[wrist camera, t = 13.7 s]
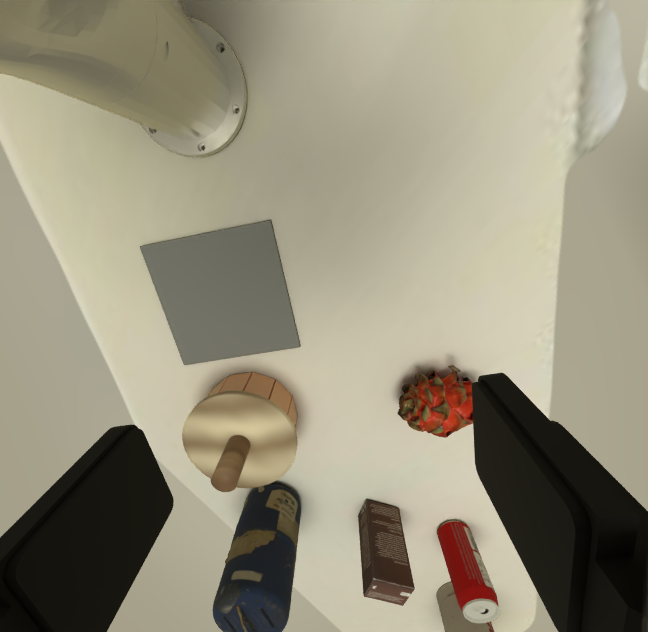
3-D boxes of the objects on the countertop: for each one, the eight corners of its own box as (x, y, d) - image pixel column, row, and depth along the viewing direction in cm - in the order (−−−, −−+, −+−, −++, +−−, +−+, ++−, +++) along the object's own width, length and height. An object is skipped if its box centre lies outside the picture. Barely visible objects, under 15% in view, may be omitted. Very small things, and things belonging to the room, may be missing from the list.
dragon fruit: (383, 386, 48) (460, 363, 48) (403, 445, 46) (484, 421, 46) (390, 380, 40) (483, 353, 40) (415, 451, 37) (513, 422, 38)
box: (357, 516, 55) (362, 597, 44) (366, 497, 54) (373, 577, 42) (390, 525, 56) (403, 608, 44) (400, 507, 54) (416, 588, 43)
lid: (169, 399, 41) (137, 437, 35) (282, 382, 40) (271, 418, 33) (206, 487, 46) (184, 535, 40) (307, 475, 45) (302, 522, 38)
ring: (197, 380, 47) (178, 404, 42) (284, 366, 46) (277, 390, 40) (223, 451, 52) (209, 482, 46) (304, 441, 50) (299, 471, 45)
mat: (142, 246, 41) (139, 246, 40) (271, 220, 39) (270, 220, 39) (185, 363, 46) (184, 365, 46) (300, 345, 45) (300, 347, 44)
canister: (252, 522, 57) (216, 658, 40) (241, 480, 54) (196, 610, 37) (306, 519, 56) (292, 657, 39) (298, 477, 53) (278, 607, 36)
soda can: (429, 533, 56) (453, 617, 44) (450, 513, 54) (479, 596, 43) (455, 545, 57) (484, 632, 45) (476, 527, 55) (511, 612, 44)
